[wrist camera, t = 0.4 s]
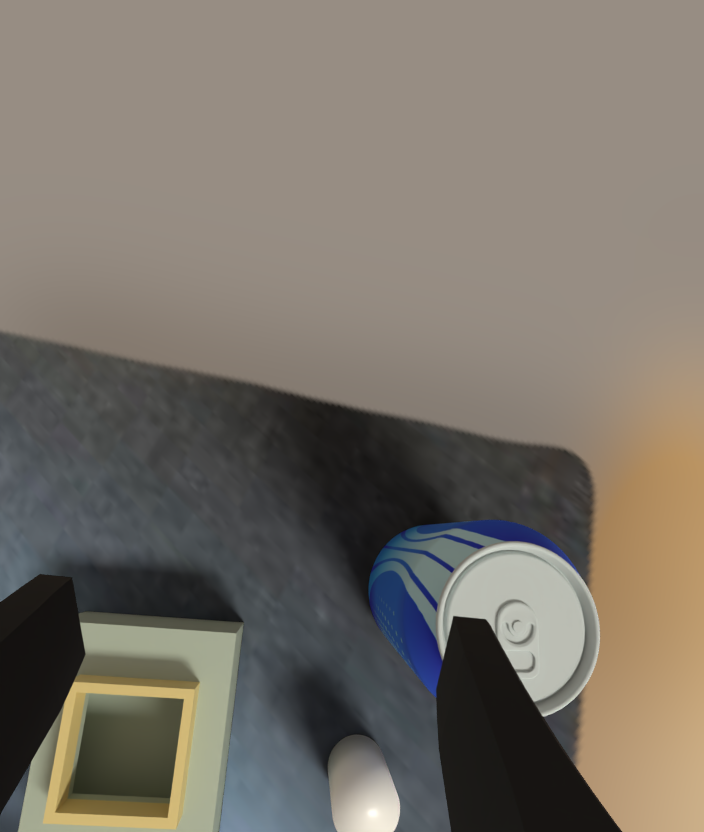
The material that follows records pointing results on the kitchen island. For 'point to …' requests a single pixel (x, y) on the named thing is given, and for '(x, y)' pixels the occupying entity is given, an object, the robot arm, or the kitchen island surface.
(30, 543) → the kitchen island surface
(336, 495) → the kitchen island surface
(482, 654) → the robot arm
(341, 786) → the pellet
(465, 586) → the beer can
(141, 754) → the square stacking base
